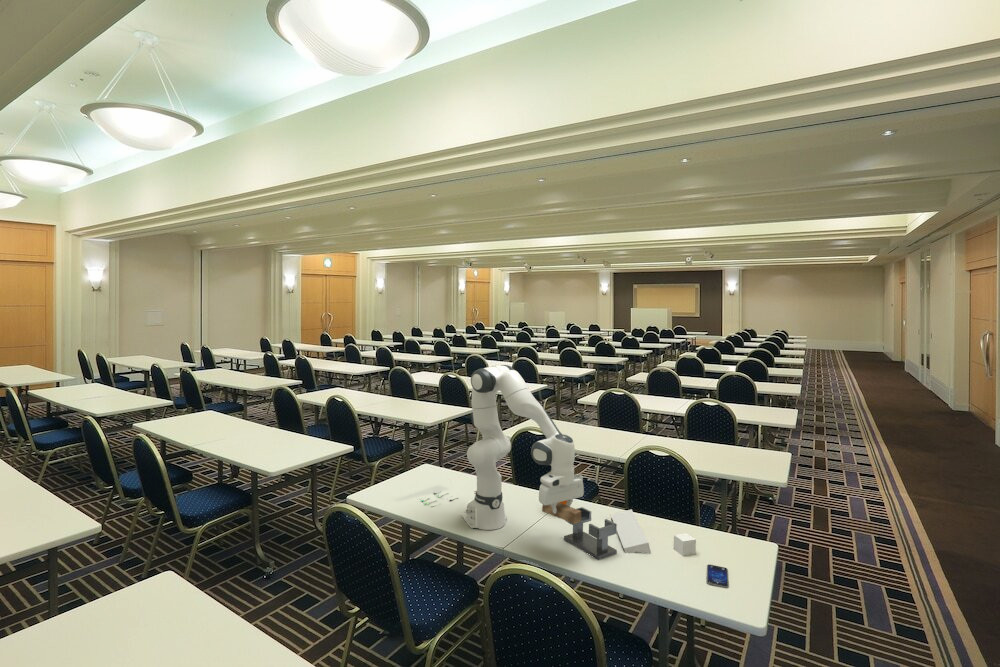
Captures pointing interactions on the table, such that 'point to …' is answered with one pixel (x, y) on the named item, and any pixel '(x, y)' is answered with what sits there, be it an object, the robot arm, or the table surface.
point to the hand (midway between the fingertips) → (561, 511)
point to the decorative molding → (630, 532)
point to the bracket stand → (589, 543)
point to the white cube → (684, 544)
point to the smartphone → (717, 576)
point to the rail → (564, 512)
